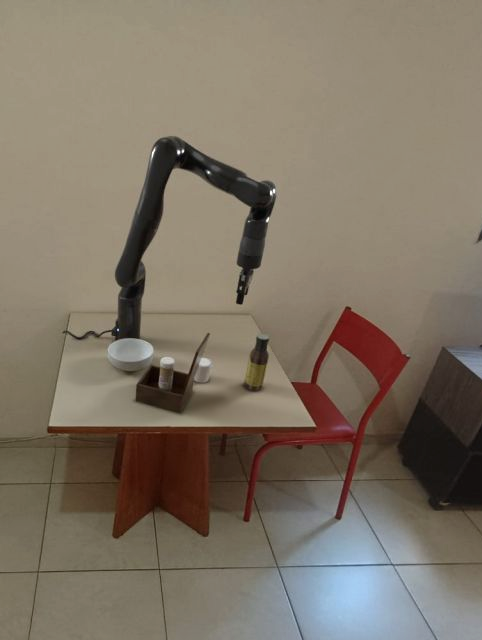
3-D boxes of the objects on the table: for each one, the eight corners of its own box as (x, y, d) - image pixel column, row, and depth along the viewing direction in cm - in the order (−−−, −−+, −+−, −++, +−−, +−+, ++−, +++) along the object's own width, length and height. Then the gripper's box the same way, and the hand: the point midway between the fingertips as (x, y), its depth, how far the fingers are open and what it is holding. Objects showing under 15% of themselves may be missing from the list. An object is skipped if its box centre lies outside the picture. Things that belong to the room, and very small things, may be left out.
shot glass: (211, 375, 160) (214, 358, 156) (208, 385, 155) (210, 368, 151) (193, 371, 162) (195, 355, 158) (188, 381, 156) (191, 364, 152)
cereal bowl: (120, 350, 173) (120, 333, 169) (159, 360, 167) (161, 344, 164) (99, 370, 161) (99, 353, 157) (140, 382, 155) (141, 365, 151)
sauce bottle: (252, 379, 158) (263, 329, 147) (265, 388, 154) (278, 337, 143) (239, 384, 156) (249, 334, 144) (252, 393, 151) (264, 342, 140)
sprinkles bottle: (154, 394, 148) (157, 360, 140) (163, 389, 151) (166, 354, 143) (166, 400, 145) (169, 365, 138) (174, 394, 148) (177, 359, 141)
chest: (135, 401, 146) (136, 384, 142) (150, 380, 156) (151, 364, 152) (180, 413, 141) (182, 396, 137) (192, 391, 151) (194, 375, 147)
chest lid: (195, 351, 127) (198, 352, 127) (207, 332, 137) (210, 333, 137) (181, 394, 137) (183, 395, 137) (193, 373, 147) (195, 374, 147)
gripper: (243, 243, 145) (234, 289, 154) (234, 255, 134) (225, 305, 143) (266, 246, 143) (256, 293, 152) (259, 259, 132) (249, 309, 141)
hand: (241, 299), depth 148 cm, fingers open, 8 cm apart
